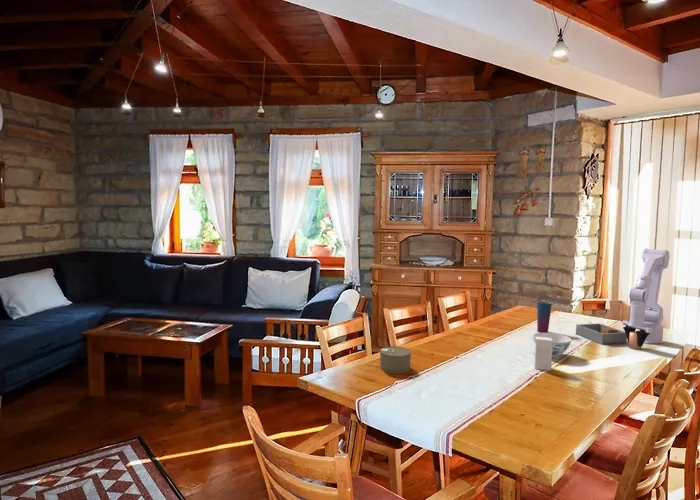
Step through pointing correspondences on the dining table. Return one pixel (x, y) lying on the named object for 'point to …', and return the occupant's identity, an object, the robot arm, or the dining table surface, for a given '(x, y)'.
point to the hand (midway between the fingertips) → (635, 344)
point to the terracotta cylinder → (633, 341)
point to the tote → (600, 334)
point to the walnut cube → (608, 330)
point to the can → (395, 359)
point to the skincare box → (543, 353)
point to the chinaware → (556, 342)
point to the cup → (543, 316)
